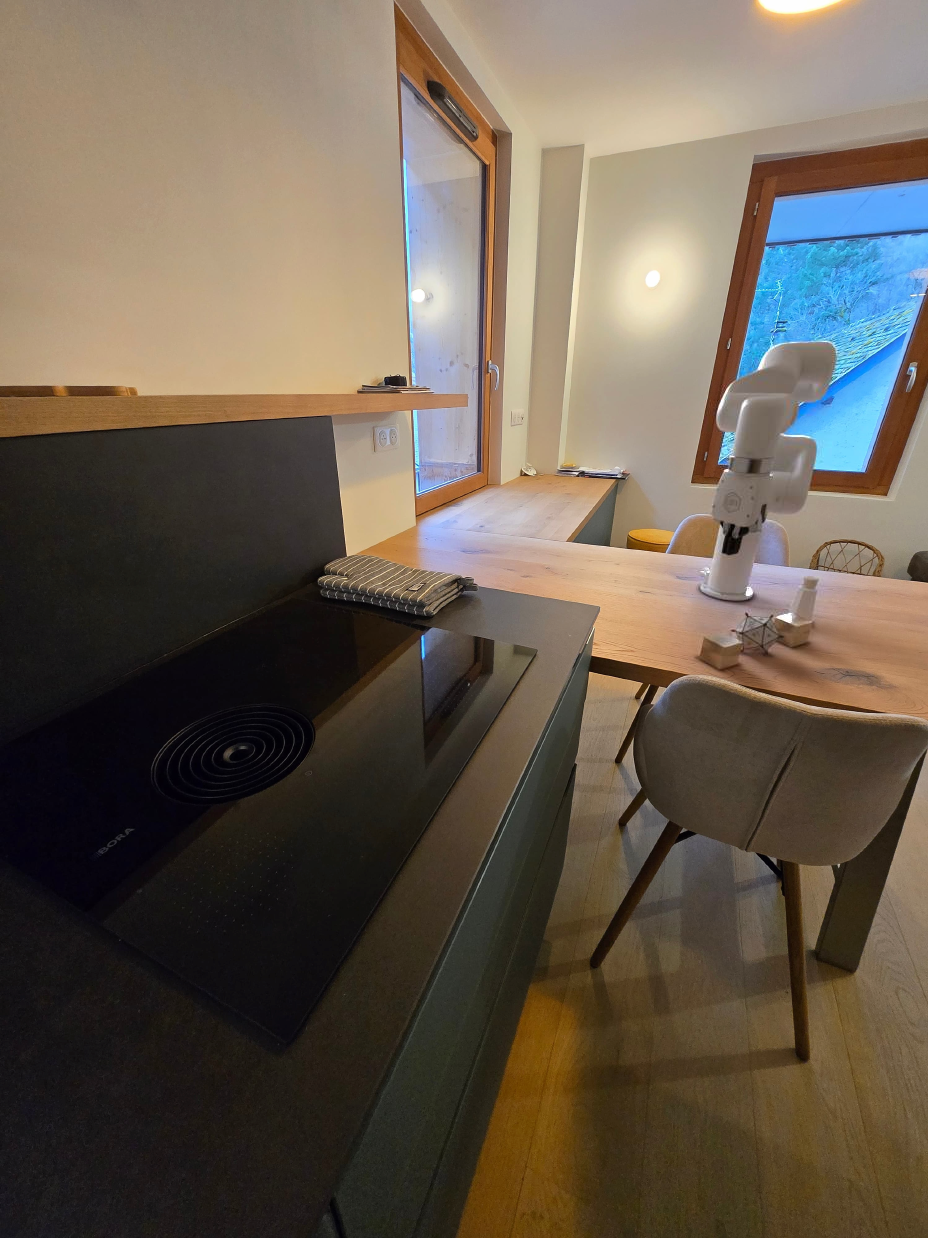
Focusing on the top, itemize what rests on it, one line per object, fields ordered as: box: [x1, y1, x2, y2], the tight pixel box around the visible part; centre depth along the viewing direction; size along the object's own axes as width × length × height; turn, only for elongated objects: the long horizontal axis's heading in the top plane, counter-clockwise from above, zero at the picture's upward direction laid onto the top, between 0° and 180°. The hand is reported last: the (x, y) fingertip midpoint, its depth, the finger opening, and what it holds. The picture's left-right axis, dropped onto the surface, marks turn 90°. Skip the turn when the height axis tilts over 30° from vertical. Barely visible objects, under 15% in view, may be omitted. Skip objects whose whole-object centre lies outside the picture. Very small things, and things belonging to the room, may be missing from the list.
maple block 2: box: [773, 613, 814, 648], centre depth 106 cm, size 5×5×5 cm
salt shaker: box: [786, 575, 820, 621], centre depth 113 cm, size 5×5×11 cm
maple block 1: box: [698, 631, 743, 671], centre depth 99 cm, size 5×5×5 cm
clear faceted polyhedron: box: [730, 612, 784, 656], centre depth 102 cm, size 9×8×10 cm
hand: (729, 553), depth 105 cm, fingers closed
